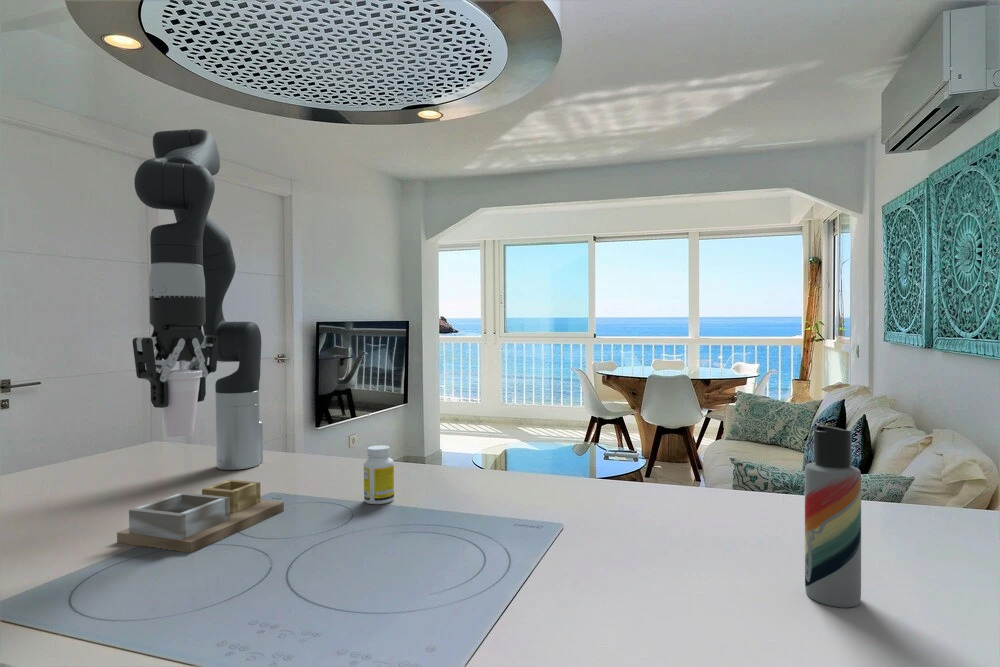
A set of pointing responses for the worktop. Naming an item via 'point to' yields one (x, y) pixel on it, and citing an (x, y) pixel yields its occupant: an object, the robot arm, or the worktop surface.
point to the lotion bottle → (833, 521)
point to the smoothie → (181, 401)
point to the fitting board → (198, 517)
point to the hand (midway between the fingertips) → (179, 403)
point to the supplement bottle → (378, 476)
